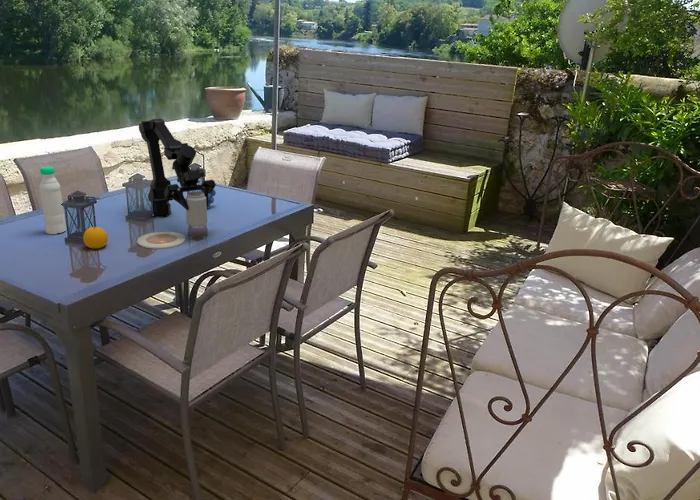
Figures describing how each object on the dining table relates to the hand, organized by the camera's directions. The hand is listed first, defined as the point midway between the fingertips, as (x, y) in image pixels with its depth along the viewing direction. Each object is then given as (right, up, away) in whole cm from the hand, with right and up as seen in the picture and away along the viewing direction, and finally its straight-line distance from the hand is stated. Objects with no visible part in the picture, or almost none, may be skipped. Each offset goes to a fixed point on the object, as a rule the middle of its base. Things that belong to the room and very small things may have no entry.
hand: (197, 208), depth 213 cm
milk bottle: (-55, -9, +5) cm, 56 cm away
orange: (-34, -15, -8) cm, 38 cm away
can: (-1, -6, +3) cm, 7 cm away
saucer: (-14, -12, 0) cm, 18 cm away
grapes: (-8, +3, +43) cm, 43 cm away
